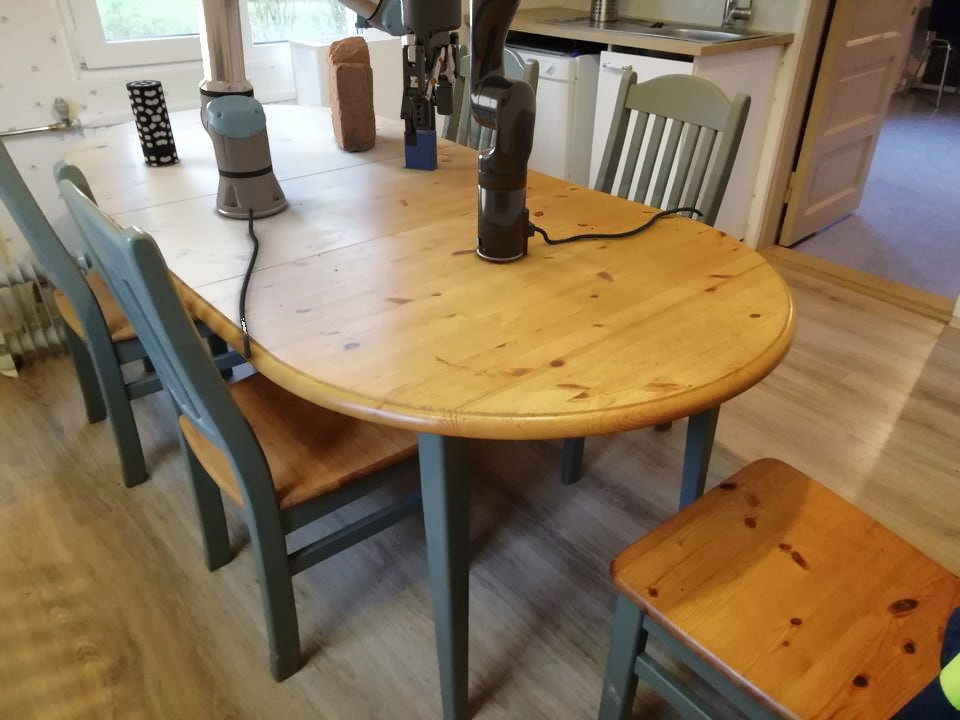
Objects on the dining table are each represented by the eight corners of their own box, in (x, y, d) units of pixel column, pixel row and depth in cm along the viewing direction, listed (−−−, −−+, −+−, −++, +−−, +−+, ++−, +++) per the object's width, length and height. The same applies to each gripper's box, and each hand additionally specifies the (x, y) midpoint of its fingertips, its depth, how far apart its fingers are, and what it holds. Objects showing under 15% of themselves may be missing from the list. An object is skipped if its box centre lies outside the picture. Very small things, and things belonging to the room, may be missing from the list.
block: (411, 163, 188) (409, 128, 183) (437, 166, 186) (436, 130, 181) (405, 167, 185) (403, 131, 180) (432, 170, 183) (431, 134, 178)
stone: (383, 150, 197) (374, 42, 182) (343, 153, 194) (332, 44, 179) (369, 134, 214) (360, 34, 200) (332, 137, 211) (321, 36, 197)
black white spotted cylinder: (184, 157, 190) (167, 80, 179) (169, 166, 183) (151, 87, 172) (155, 156, 190) (136, 79, 179) (139, 165, 183) (119, 86, 172)
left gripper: (422, 42, 181) (425, 125, 192) (382, 59, 161) (389, 150, 173) (448, 44, 179) (450, 127, 190) (412, 60, 159) (416, 152, 171)
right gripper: (423, -19, 91) (427, 108, 100) (378, -11, 80) (387, 132, 88) (477, -17, 89) (476, 112, 98) (438, -8, 78) (441, 137, 87)
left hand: (421, 138), depth 182 cm, fingers open, 13 cm apart
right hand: (434, 121), depth 93 cm, fingers open, 8 cm apart
